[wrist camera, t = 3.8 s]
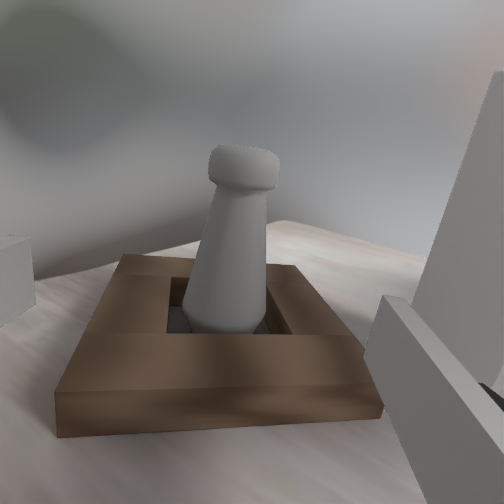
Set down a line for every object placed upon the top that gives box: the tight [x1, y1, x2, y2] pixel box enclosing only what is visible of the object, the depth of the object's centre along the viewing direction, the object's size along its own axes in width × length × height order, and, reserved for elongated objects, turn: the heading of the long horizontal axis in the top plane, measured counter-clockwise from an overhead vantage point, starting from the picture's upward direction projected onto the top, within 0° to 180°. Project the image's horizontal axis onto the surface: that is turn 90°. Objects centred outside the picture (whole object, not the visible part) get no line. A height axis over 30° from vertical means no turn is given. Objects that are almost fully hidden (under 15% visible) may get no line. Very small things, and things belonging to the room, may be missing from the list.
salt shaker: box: [182, 144, 280, 334], centre depth 21 cm, size 6×6×13 cm
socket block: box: [54, 254, 384, 438], centre depth 22 cm, size 16×16×2 cm
